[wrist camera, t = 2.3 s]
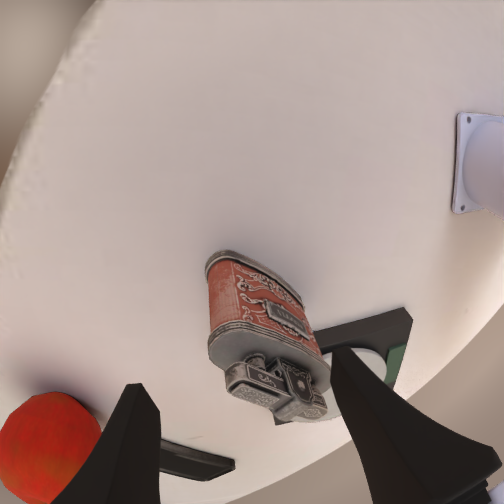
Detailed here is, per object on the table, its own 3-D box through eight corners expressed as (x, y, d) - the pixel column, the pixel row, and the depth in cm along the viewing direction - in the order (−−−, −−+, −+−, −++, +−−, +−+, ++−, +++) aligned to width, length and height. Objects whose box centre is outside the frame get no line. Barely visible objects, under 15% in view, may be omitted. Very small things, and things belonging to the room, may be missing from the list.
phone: (204, 482, 36) (111, 456, 30) (204, 476, 37) (111, 448, 31) (239, 467, 34) (137, 439, 28) (238, 460, 35) (138, 430, 29)
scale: (403, 306, 25) (419, 327, 22) (385, 380, 30) (395, 398, 28) (259, 343, 24) (265, 370, 22) (272, 411, 30) (277, 433, 27)
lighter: (311, 298, 23) (363, 409, 14) (280, 327, 24) (316, 440, 15) (226, 238, 19) (246, 362, 11) (194, 275, 20) (193, 404, 12)
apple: (89, 439, 30) (79, 536, 18) (8, 392, 25) (-23, 491, 12) (140, 410, 27) (134, 538, 15) (37, 348, 22) (-9, 485, 10)
